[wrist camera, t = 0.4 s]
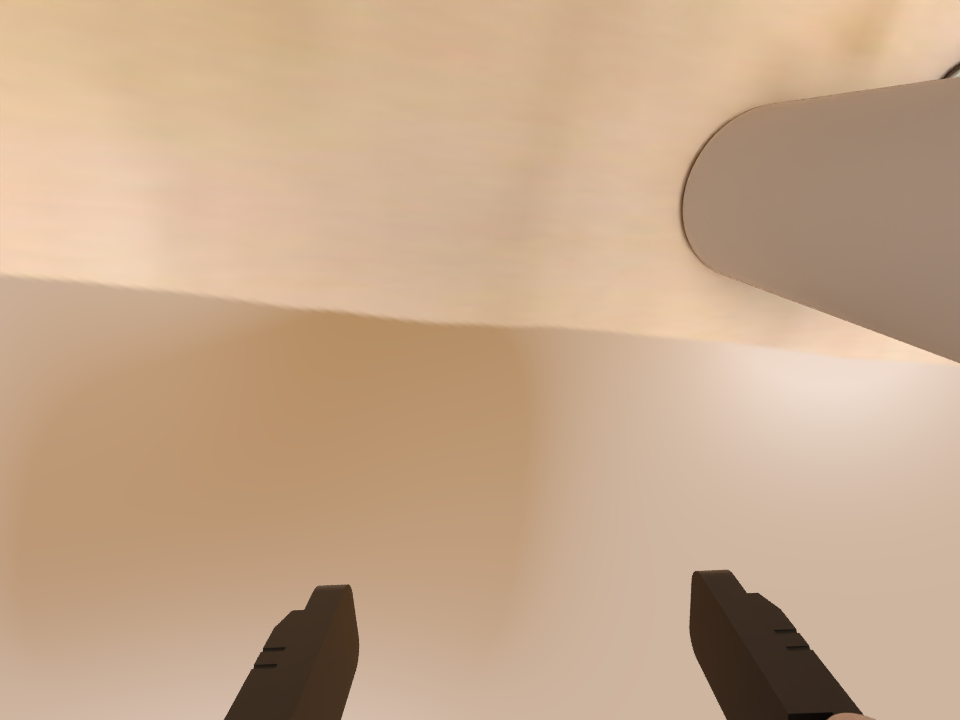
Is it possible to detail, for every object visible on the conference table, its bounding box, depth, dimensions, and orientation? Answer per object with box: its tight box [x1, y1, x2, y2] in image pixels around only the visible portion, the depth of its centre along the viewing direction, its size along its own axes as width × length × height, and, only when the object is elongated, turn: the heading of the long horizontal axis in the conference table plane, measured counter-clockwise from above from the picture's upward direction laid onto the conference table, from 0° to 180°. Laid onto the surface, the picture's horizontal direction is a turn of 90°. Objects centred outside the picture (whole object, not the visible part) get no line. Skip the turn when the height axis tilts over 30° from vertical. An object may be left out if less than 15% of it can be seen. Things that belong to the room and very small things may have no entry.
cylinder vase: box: [683, 77, 960, 363], centre depth 27 cm, size 12×12×25 cm
